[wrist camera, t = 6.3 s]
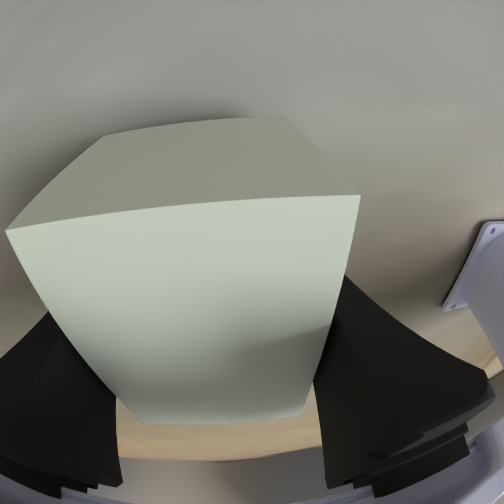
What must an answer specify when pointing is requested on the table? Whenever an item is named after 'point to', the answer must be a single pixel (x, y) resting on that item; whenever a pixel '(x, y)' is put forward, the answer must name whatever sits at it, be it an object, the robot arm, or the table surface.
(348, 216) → the pale green block
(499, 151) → the table surface
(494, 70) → the table surface
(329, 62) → the table surface
